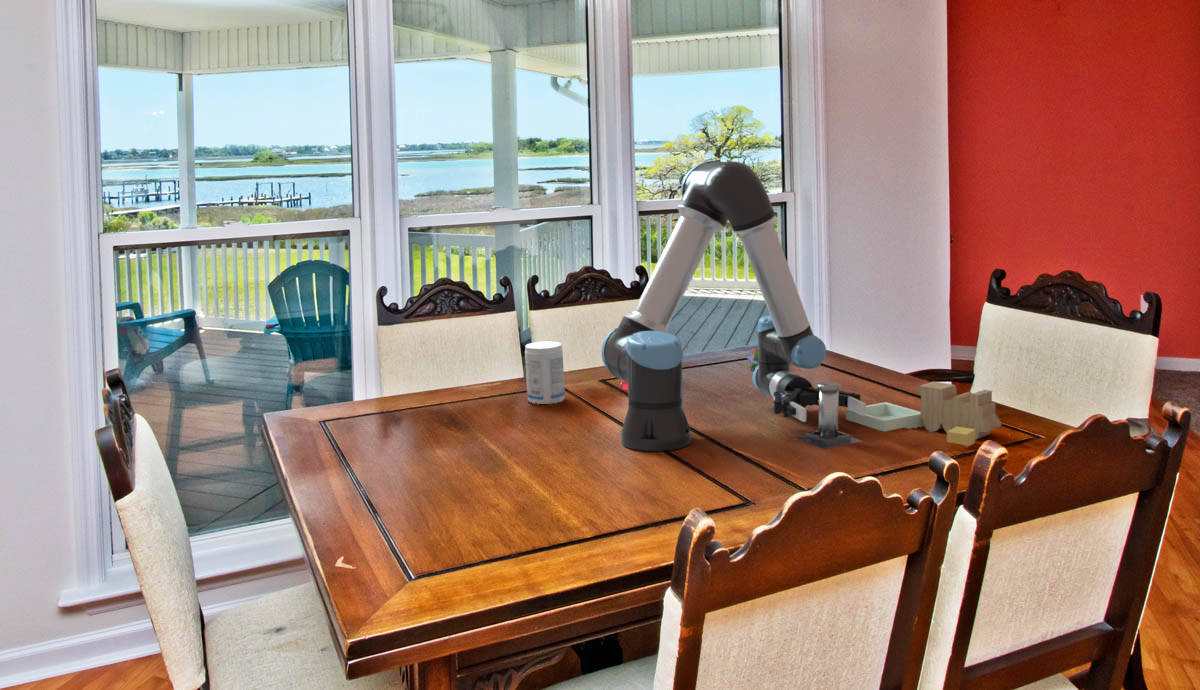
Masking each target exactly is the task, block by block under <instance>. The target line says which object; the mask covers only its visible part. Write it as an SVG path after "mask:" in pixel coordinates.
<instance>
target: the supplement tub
mask: <svg viewBox="0 0 1200 690" xmlns="http://www.w3.org/2000/svg"><path fill="white" fill-rule="evenodd" d="M563 351H564V350H563V347H562V343H561V342H558V341H548V340H547V341H546V340H545V341H535V342H530V343H526V345H525V349H524V359H525V360H524V361H525V362H524V363H525V375H526V376H525V377H526V392H527V400H528V402H529V403H531V402H532V403H531V404H533V403H537V404H536V405H539V404H549V405H551V404H550V403H554V404H558V403H557V402H559V403H561V402H563V401H564V400H565V397H566V394H565V393H566V391H565V376H564V375H565V374H564V372H565V371H564V355H563V353H564V352H563Z"/></svg>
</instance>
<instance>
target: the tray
mask: <svg viewBox="0 0 1200 690" xmlns="http://www.w3.org/2000/svg"><path fill="white" fill-rule="evenodd" d="M845 411H846V412H845V420H846V421H849V422H853V423H855V424H856V423H857V424H859V425H863V426H865V427H869V428H872V429H875V430H878V431H881V432H889V431H894V430H898V429H903V428H905V429H908V430H912V429H911V428H915V429H917V428H916V427H920V428H923V427H922V426H924V424H923V419H921V417H920V413H921V411H919V410H915V409H913V408H912V409H911V408H908V407H905V406H900V405H898V404H893V403H892V402H891V403H890V402H887V401H884V402H880V403H879V402H878V403H874V404H868V405H866V414H865V416H861V415H859V414H857V413H855V412H853V411H851V410H849V409H848V408H847V409H846V410H845Z"/></svg>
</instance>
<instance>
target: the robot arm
mask: <svg viewBox="0 0 1200 690" xmlns="http://www.w3.org/2000/svg"><path fill="white" fill-rule="evenodd" d="M680 190H681V196H682V197H681V199H680V201H679V202H678V205H677V211H678V213H679V218H678V221H677V222H676V225H674V228H673V230H672V233H671V235H670V237H669V239H668V241H667V243H666V245H665V247H664V249H663V251H662V253H661V255H660V257H659V259H658V261H657V263H656V264H655V267H654V269H653V271H652V273H651V274H650V277H649V279H648V282H647V283H646V286H645V287H644V289H643V292H642V294H641V295H640V297H639V299H638V301H637V304H636V306H635V308H634V310H633V311H632V312H629V313H625V314H623V316H622V319H621V320H620V323H619V325H618V327H617V328H614V329H613V330H611V331H610V332H609V333H608V334H607V335H606V336H605V338H604V340H603V342H602V345H601V359H602V363H603V364H604V366H605V368H606V369H607V371H609V372H610V374H612V376H613V377H614V378H616V379H619V380H620V381H622V382H626V383H628V392H627V393H628V397H627V398H628V399H627V400H628V407H627V412H626V415H625V417H624V422H623V425H622V429H621V431H620V436H621V437H620V440H621V441H620V442H621V444H622V445H623V446H624V447H626V448H629V449H632V450H636V451H645V452H667V451H666V450H668V451H673V450H678V449H683V448H685V447H687V446H689V445H690V444H691V443H692V431H691V428H690V425H689V421H688V419H687V417H686V413H685V410H684V406H683V358H684V356H683V355H684V354H683V350H682V341H681V340H680V339H679V338H678V337H677V335H674V334H672V333H670V332H669V325H670V323H671V322H672V319H673V318H674V315H675V313H676V311H677V309H678V307H679V305H680V303H681V301H682V299H683V297H684V295H685V293H686V291H687V289H688V287H689V285H690V282H691V281H692V279H693V277H694V275H695V273H696V271H697V270H698V267H699V265H700V263H701V261H702V259H703V257H704V255H705V253H706V250H708V247H709V244H710V242H712V239H713V237H714V235H715V234H716V233H719V232H720V231H723V230H724V229H725V227H726V226H727V224H728V222H729V224H730V226H731V229H732V231H733V233H736V234H738V235H739V236H740V239H741V242H742V245H743V247H744V249H745V252H746V254H747V259H748V260H749V263H750V266H751V268H752V270H753V273H754V276H755V278H756V282H757V284H758V287H759V290H760V293H761V295H762V297H763V300H764V302H765V306H766V308H767V310H768V314H769V315H764V316H761V317H760V318H759V319H758V322H757V323H758V324H757V325H758V326H757V331H756V332H757V333H756V334H757V348H758V354H759V362H758V366H757V367H756V368H755V369H754V370H753V373H752V383H753V385H754V387H755V388H756V389H757V390H758V391H759V392H761V393H762V394H763V395H765V396H768V397H770V398H773V401H772V403H773V404H774V406H773V408H774V409H773V412H774V414H775V415H778V414H781V412H782V414H783V415H782V417H783V418H788V417H790V416H792V417H794V418H795V419H797V420H799V421H800V422H802V423H804V422H805V423H806V422H807V408H806V407H808V406H813V405H814V406H819V390H818V389H817V388H815V387H814V386H813V385H812V383H811V382H810V381H809V380H808V379H807V378H805V377H803V376H800V375H798V374H797V373H795V372H794V371H793V372H792V371H791V365H793V366H795V367H797V368H800V369H806V370H812V369H813V370H814V369H817V368H818V367H819V366H820V365H821V364H822V363H823V362H824V360H825V359H826V355H827V347H826V345H825V342H824V340H822V339H821V338H819V337H818V336H817V335H814V333H813V330H812V327H811V325H810V322H809V321H810V320H809V319H808V317H807V314H806V311H805V308H804V306H803V303H802V300H801V296H800V295H799V291H798V289H797V286H796V283H795V280H794V278H793V275H792V271H791V270H790V266H789V264H788V261H787V259H786V255H785V253H784V250H783V246H782V244H781V242H780V239H779V235H778V233H777V231H776V228H775V225H774V223H773V222H774V219H775V218H776V213H775V212H774V208H773V206H772V203H771V200H770V198H769V195H768V192H767V191H766V189H765V186H764V184H763V183H762V181H761V179H760V178H759V176H758V175H757V173H756V172H755V171H754V170H753V169H752V168H751V167H749V166H748V165H747V164H744V163H742V162H739V161H733V160H732V161H720V160H707V161H704V162H701V163H698V164H696V165H694V166H693V167H691V168H690V169H689V170H688V171H687V173H686V174H685V176H684V177H683V180H682V182H681V189H680ZM861 397H862V395H861V394H860V393H855V392H848V391H843V390H839V399H838V407H844V408H847V409H849V410H851V411H853V412H855V413H857V414H859V415H861V416H865V414H866V406H867V405H866V403H865V402H863V401H861V400H862V399H861ZM789 415H790V416H789Z"/></svg>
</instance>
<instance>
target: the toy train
mask: <svg viewBox="0 0 1200 690" xmlns="http://www.w3.org/2000/svg"><path fill="white" fill-rule="evenodd" d="M916 390H917V392H918V394H919V395H920V412H921V413H920V417H921V419H923V424H924V428H925V429H926V430H927V431H928V432H932V431H934V432H937V431H939V430H942V429H943V430H944V431H945V433H946V434H947V431H949V430H951V429H953V428H955V427H957V426H958V427H964V428H970V429H975V441H976V440H978V439H981V438H983V437H986V436H988V435H991V434H992V431H994V430H996V429H999V428H1001V427H1002V421H1001V420H1000V419H999V417H998V416H997V414H996V401H993V400H992V399H993V397H992V396H993V394H992V393H993V391H992V390H989V389H982V390H979V391H976V392H974V393H973V392H972V391H967V392H964V393H961V394H958V395H957V386H956V384H951V383H945V382H939V381H930V382H927V383H923V384H920V385H918V386H917V388H916Z"/></svg>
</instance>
